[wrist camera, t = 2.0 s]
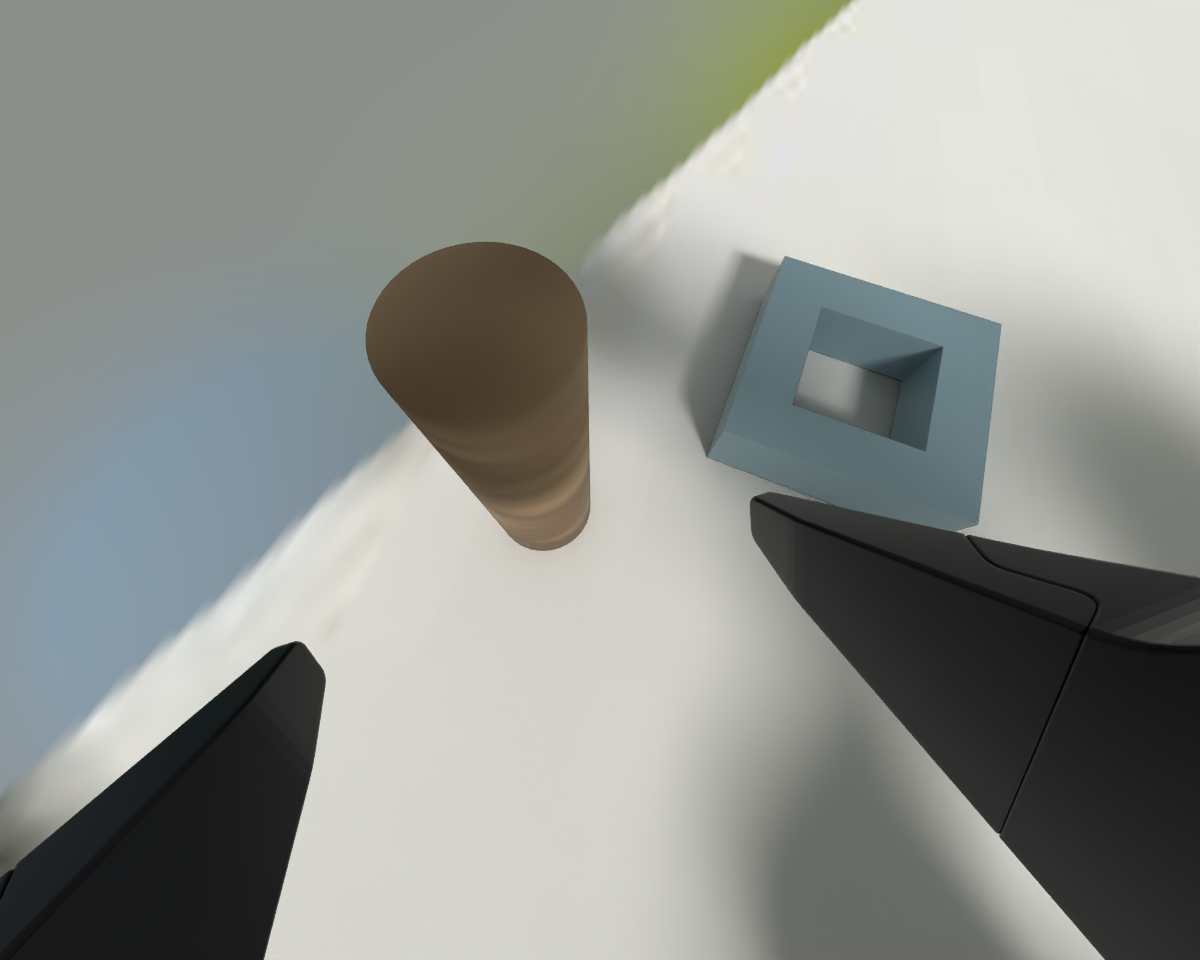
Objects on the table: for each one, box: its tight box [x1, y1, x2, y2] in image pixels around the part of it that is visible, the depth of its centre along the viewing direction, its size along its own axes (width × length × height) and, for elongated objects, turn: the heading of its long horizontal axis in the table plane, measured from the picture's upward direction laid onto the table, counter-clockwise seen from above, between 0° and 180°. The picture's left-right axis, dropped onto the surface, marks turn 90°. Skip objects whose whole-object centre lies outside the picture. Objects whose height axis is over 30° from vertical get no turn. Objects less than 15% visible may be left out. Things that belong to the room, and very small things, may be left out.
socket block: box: [707, 256, 1001, 531], centre depth 22 cm, size 11×11×3 cm
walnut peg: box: [366, 242, 590, 551], centre depth 15 cm, size 4×4×13 cm
